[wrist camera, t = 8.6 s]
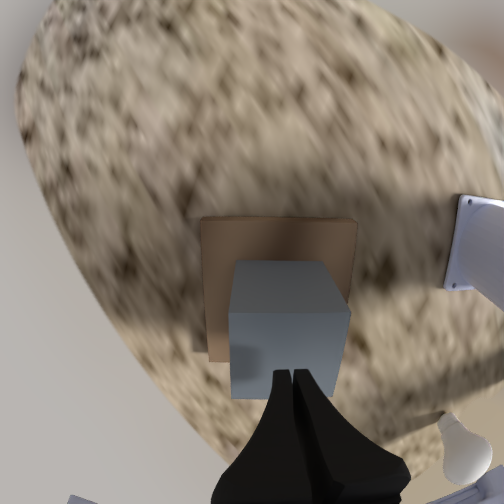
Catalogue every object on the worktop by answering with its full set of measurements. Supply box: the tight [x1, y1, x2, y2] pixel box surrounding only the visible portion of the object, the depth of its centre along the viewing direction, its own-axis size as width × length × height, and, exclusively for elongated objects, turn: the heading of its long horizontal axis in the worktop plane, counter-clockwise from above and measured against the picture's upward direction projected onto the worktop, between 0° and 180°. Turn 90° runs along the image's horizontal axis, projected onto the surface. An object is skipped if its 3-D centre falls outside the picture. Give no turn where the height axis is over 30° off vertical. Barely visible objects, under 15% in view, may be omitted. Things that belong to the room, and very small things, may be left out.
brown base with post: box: [200, 217, 358, 362], centre depth 19 cm, size 10×11×6 cm
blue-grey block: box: [228, 260, 351, 399], centre depth 17 cm, size 6×6×7 cm
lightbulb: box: [437, 412, 492, 485], centre depth 22 cm, size 6×6×11 cm
